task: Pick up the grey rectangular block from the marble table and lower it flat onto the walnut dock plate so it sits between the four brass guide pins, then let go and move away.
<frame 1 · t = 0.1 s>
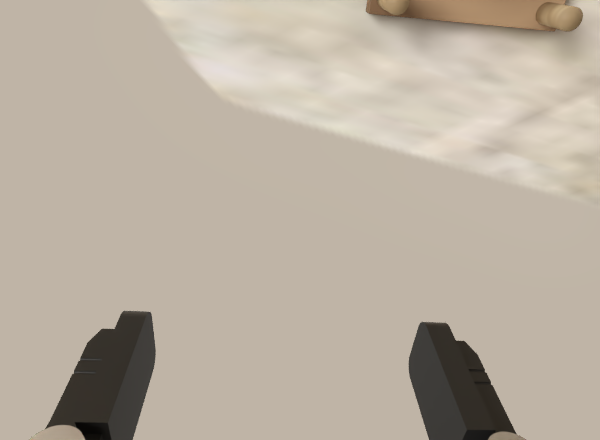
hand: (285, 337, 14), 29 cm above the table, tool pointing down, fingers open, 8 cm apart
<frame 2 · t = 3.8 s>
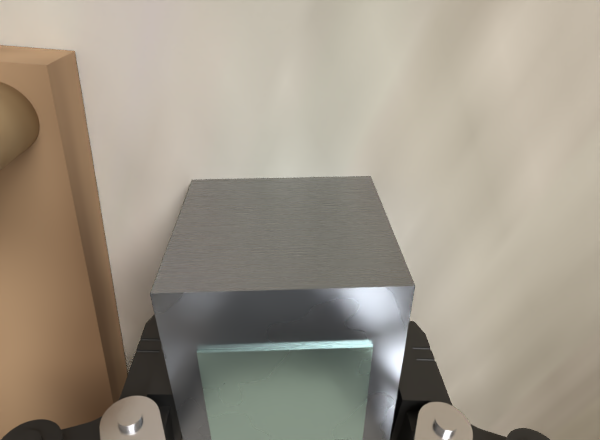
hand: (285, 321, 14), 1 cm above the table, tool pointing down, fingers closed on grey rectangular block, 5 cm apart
grey rectangular block: (285, 297, 15), on the table, touching gripper
when the fingers open (4 cm above the table, at t = 9.4 s): grey rectangular block drops 1 cm, resting on dock.
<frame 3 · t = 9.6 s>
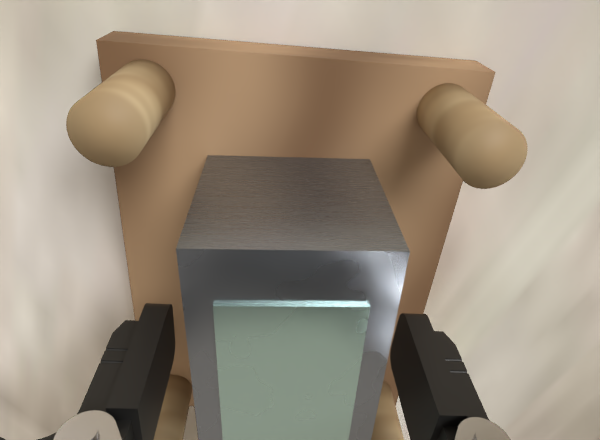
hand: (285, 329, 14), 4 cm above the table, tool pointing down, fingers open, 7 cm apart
dock: (284, 249, 17), on the table
grey rectangular block: (285, 273, 16), point 1 cm above the table, touching dock
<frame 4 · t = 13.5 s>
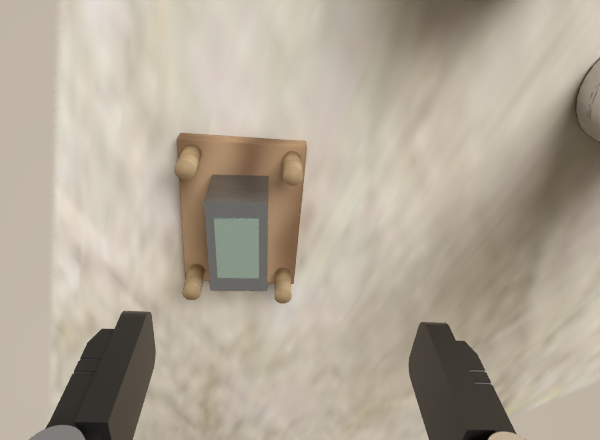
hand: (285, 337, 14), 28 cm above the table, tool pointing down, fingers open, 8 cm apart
dock: (242, 210, 43), on the table
grey rectangular block: (241, 218, 42), point 1 cm above the table, touching dock
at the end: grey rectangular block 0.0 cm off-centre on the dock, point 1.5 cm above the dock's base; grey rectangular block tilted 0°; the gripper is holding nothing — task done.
